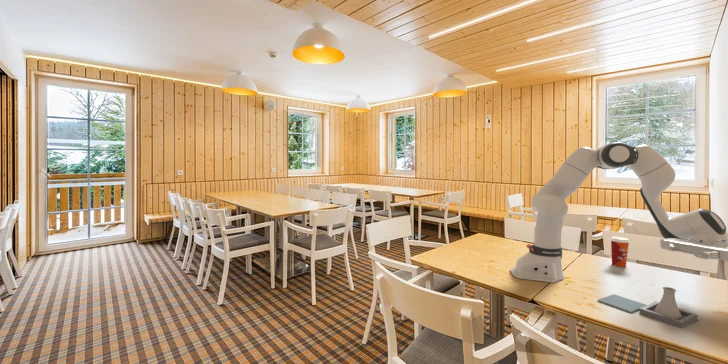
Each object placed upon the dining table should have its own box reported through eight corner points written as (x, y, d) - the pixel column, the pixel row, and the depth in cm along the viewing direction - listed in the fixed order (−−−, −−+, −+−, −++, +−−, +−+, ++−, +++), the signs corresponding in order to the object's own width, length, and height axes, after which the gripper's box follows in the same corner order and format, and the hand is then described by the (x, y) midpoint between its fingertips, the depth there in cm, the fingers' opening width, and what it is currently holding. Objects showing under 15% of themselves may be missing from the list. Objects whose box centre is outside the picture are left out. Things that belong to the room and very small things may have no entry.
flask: (670, 312, 116) (672, 284, 115) (688, 322, 109) (690, 293, 108) (648, 311, 117) (649, 284, 116) (665, 321, 109) (666, 292, 109)
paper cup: (622, 268, 160) (624, 240, 159) (606, 264, 167) (607, 237, 166) (632, 266, 163) (633, 239, 162) (615, 262, 170) (616, 235, 169)
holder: (681, 328, 105) (682, 322, 105) (639, 313, 115) (639, 308, 115) (697, 319, 110) (697, 314, 110) (655, 306, 120) (655, 301, 120)
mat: (631, 313, 115) (631, 311, 115) (597, 301, 125) (597, 299, 125) (647, 306, 120) (647, 305, 120) (613, 295, 130) (613, 294, 130)
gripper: (669, 232, 132) (652, 237, 125) (744, 244, 113) (728, 250, 107) (668, 248, 132) (651, 253, 126) (743, 262, 114) (727, 268, 108)
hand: (687, 251), depth 116 cm, fingers open, 8 cm apart
